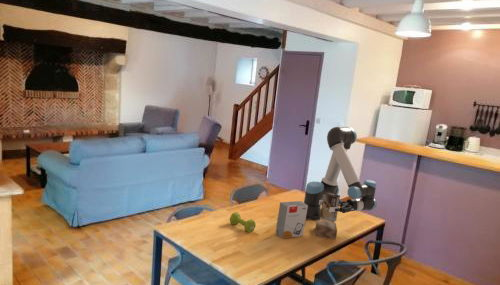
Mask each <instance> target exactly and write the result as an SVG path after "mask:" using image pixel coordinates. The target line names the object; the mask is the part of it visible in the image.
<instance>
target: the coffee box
mask: <svg viewBox="0 0 500 285" xmlns="http://www.w3.org/2000/svg"><path fill="white" fill-rule="evenodd" d="M340 198H341V195H339V194H338V195H336V194H333V193H329V192H325V193H324V194H323V200H322V205H321V214H320V219H319V220H322V221H327V222H333V223H336V221H337V218H338V212H329V209H330V207H339V199H340Z"/></svg>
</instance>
